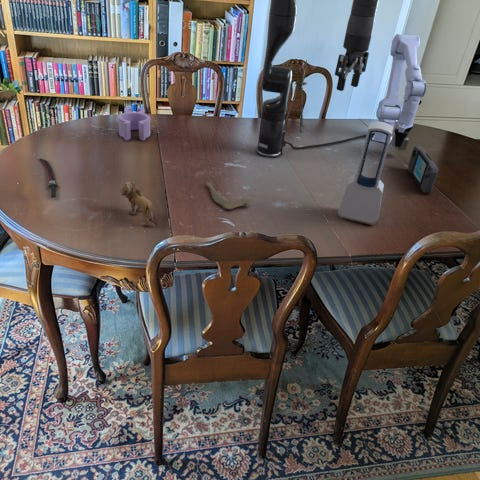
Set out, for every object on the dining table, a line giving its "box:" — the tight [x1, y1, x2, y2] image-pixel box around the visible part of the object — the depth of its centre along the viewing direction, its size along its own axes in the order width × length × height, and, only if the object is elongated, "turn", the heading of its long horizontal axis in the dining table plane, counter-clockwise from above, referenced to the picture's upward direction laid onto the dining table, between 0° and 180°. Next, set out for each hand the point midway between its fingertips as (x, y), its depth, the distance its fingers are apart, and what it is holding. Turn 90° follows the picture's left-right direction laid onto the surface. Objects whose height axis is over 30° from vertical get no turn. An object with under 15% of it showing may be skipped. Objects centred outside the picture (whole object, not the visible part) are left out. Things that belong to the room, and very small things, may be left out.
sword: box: [40, 158, 59, 198], centre depth 151 cm, size 31×3×1 cm, turn 26°
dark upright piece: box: [284, 59, 308, 132], centre depth 206 cm, size 9×8×30 cm
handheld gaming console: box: [407, 145, 439, 195], centre depth 173 cm, size 23×3×10 cm, turn 178°
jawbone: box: [205, 181, 254, 211], centre depth 149 cm, size 9×20×2 cm, turn 50°
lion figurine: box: [119, 181, 159, 227], centre depth 134 cm, size 15×5×9 cm, turn 50°
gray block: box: [390, 134, 409, 151], centre depth 192 cm, size 4×5×5 cm
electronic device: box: [337, 121, 394, 226], centre depth 139 cm, size 12×8×30 cm, turn 71°
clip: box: [117, 106, 151, 142], centre depth 190 cm, size 20×12×7 cm, turn 11°
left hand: (347, 88), depth 145 cm, fingers open, 8 cm apart
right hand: (399, 144), depth 193 cm, fingers closed on gray block, 6 cm apart
